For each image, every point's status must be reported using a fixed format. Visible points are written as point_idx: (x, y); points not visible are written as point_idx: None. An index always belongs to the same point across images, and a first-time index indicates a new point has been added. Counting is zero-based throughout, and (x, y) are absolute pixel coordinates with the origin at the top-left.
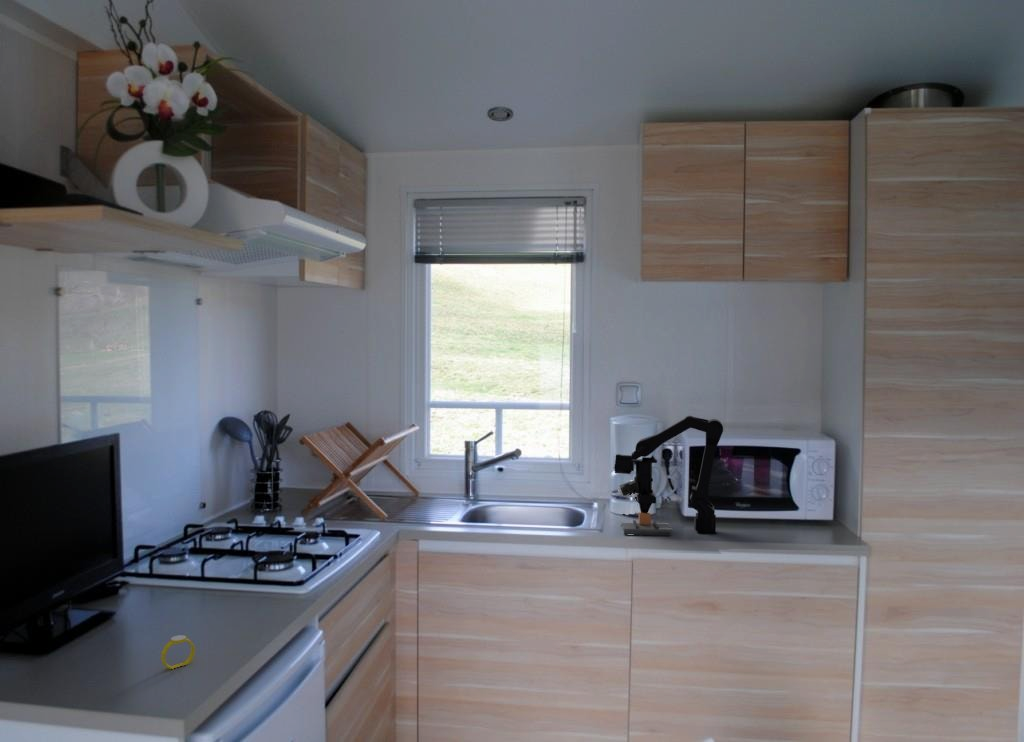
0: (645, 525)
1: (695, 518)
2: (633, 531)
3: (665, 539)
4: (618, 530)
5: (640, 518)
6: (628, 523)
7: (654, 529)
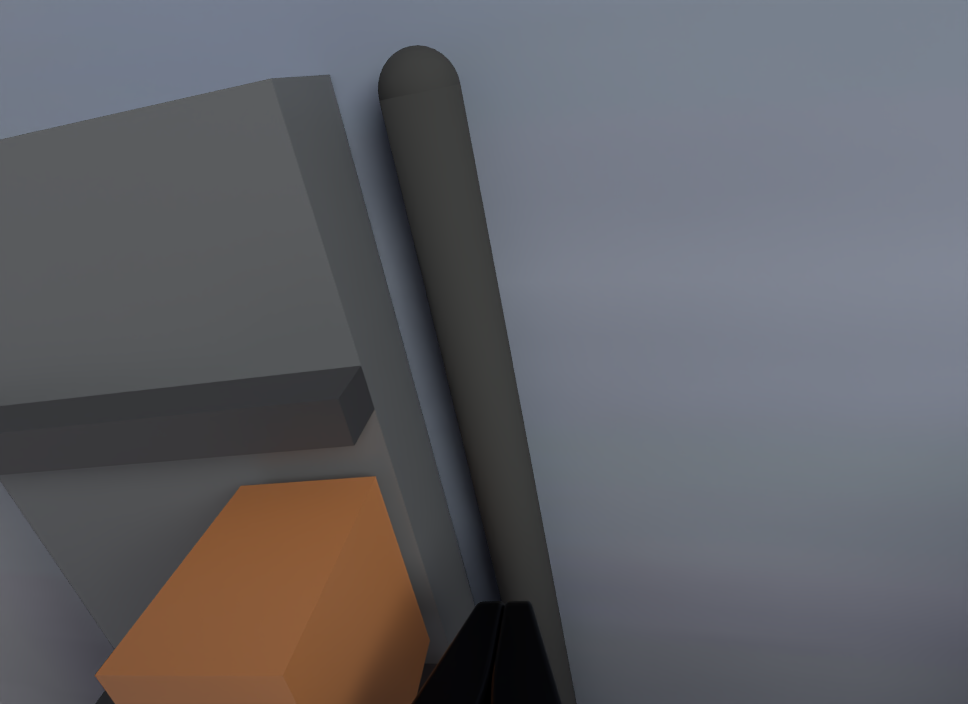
0: None
1: None
2: None
3: (54, 649)
4: (157, 16)
5: (174, 597)
6: (297, 266)
7: (112, 641)
